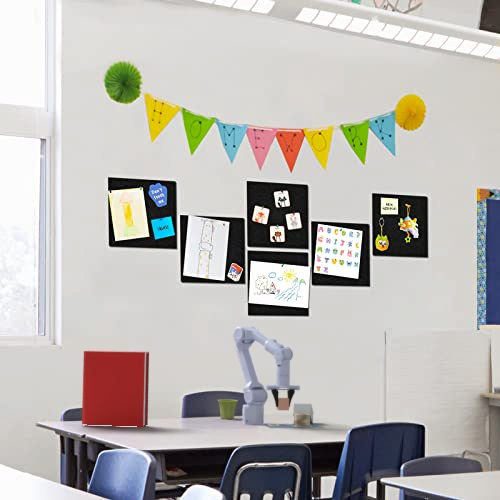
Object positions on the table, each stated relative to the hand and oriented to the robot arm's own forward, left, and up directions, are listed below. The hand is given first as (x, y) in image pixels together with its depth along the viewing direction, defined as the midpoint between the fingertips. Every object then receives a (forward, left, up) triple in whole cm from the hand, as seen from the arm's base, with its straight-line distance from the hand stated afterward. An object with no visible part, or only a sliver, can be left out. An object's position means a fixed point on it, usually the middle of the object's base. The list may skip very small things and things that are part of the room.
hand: (282, 406), depth 439 cm
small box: (+14, +19, -7) cm, 24 cm away
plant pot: (-18, +41, -9) cm, 46 cm away
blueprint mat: (+5, +3, -9) cm, 11 cm away
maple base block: (+9, +5, -8) cm, 13 cm away
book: (-72, +9, -9) cm, 73 cm away
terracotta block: (0, 0, -1) cm, 1 cm away
